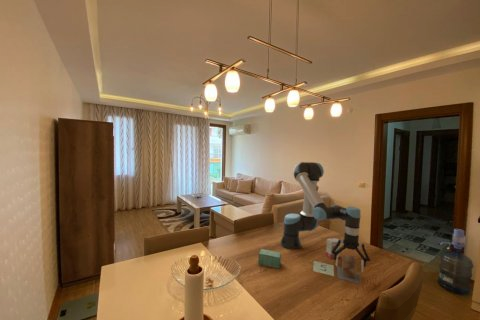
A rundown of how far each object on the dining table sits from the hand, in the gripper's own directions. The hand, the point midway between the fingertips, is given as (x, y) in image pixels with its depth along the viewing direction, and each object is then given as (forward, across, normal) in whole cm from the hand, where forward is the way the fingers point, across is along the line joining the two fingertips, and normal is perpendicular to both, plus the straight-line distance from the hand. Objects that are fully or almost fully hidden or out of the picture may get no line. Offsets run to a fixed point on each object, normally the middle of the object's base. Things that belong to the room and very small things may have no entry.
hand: (348, 268), depth 127 cm
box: (+5, -46, -9) cm, 47 cm away
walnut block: (+4, 0, 0) cm, 4 cm away
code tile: (+4, -14, +1) cm, 15 cm away
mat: (+4, 0, 0) cm, 4 cm away
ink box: (+4, -8, +21) cm, 23 cm away
